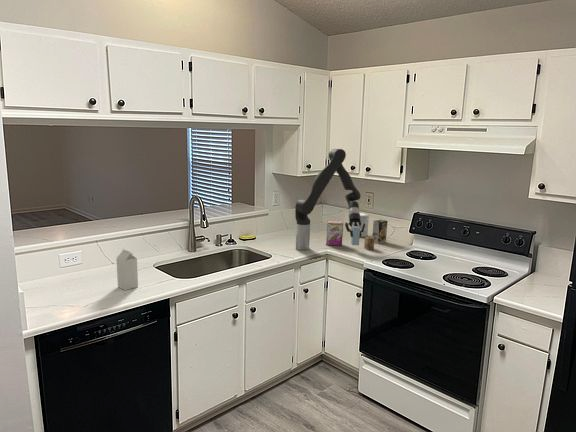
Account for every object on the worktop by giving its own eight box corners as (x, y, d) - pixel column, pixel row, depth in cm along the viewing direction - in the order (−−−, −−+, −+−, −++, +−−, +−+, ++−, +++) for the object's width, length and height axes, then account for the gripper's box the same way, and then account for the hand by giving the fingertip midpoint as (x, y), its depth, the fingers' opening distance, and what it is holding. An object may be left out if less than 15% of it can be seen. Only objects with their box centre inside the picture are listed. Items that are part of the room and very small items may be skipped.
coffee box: (378, 244, 320) (380, 222, 317) (371, 242, 325) (372, 220, 322) (386, 242, 326) (388, 220, 323) (379, 240, 331) (380, 219, 328)
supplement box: (350, 234, 347) (352, 213, 344) (360, 233, 351) (362, 212, 348) (357, 237, 339) (359, 215, 335) (367, 236, 343) (369, 214, 339)
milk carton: (124, 290, 218) (123, 253, 214) (117, 287, 222) (115, 250, 218) (138, 287, 223) (136, 250, 219) (130, 283, 227) (129, 247, 224)
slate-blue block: (352, 245, 295) (353, 227, 293) (351, 243, 300) (352, 225, 297) (358, 245, 295) (360, 227, 293) (357, 243, 300) (359, 226, 297)
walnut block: (366, 250, 304) (367, 238, 302) (364, 248, 309) (365, 236, 307) (373, 249, 305) (374, 238, 303) (371, 247, 309) (371, 236, 308)
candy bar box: (326, 245, 313) (327, 222, 310) (326, 243, 318) (327, 220, 315) (342, 246, 312) (343, 223, 309) (342, 244, 317) (343, 221, 314)
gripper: (344, 211, 301) (346, 233, 291) (365, 212, 301) (367, 234, 292) (343, 218, 307) (344, 239, 297) (363, 218, 307) (365, 240, 298)
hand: (356, 236), depth 295 cm, fingers closed on slate-blue block, 4 cm apart
